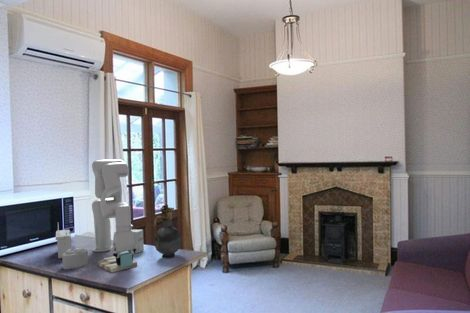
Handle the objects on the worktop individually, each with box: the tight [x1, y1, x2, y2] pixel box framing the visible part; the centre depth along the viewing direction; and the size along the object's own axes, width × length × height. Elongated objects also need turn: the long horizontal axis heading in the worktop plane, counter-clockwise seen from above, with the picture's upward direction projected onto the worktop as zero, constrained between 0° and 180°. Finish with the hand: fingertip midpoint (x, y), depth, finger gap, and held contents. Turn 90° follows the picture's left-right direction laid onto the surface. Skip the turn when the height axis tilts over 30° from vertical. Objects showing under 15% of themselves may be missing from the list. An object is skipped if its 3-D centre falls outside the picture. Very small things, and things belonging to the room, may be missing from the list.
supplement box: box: [127, 229, 145, 254], centre depth 223 cm, size 7×7×13 cm
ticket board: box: [97, 255, 138, 273], centre depth 196 cm, size 18×14×3 cm
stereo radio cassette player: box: [55, 223, 72, 260], centre depth 222 cm, size 21×8×20 cm, turn 25°
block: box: [117, 251, 133, 268], centre depth 189 cm, size 5×6×6 cm
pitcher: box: [153, 204, 182, 259], centre depth 207 cm, size 11×19×30 cm, turn 153°
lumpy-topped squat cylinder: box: [61, 247, 89, 270], centre depth 199 cm, size 10×13×9 cm
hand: (124, 263), depth 189 cm, fingers closed on block, 6 cm apart
